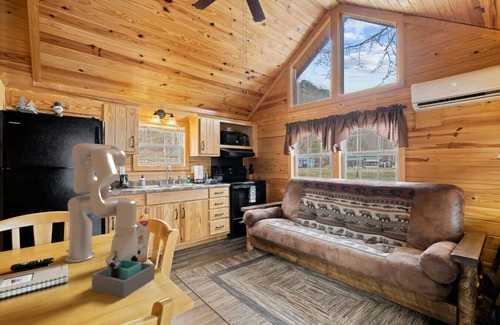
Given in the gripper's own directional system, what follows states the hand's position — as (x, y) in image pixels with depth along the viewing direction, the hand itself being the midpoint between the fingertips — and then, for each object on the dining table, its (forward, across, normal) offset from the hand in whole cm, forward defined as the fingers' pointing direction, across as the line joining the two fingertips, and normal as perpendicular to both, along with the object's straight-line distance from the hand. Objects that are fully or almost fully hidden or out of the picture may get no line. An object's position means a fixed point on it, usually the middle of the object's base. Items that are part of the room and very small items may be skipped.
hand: (124, 272), depth 99 cm
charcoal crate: (+5, 0, 0) cm, 5 cm away
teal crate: (+4, 0, 0) cm, 4 cm away
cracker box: (+5, -17, -14) cm, 23 cm away
